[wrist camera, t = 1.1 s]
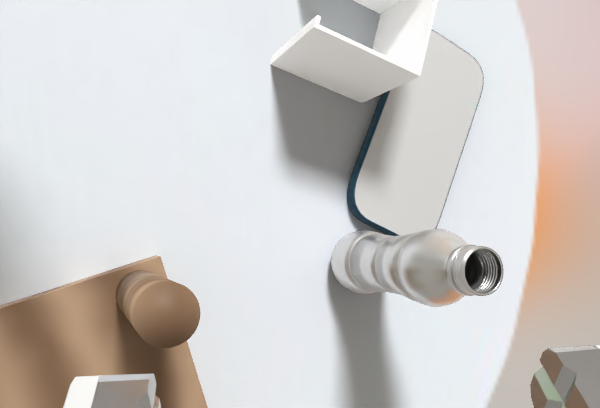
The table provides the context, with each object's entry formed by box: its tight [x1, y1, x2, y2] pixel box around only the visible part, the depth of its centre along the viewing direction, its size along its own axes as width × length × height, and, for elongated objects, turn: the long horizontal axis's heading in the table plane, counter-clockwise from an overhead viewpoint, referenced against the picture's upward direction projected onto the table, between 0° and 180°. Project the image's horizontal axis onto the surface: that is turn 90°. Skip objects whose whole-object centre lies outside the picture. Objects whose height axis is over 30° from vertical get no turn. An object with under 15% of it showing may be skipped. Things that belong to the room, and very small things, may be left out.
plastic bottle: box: [331, 229, 503, 307], centre depth 49 cm, size 6×7×20 cm
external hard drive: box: [347, 30, 483, 236], centre depth 62 cm, size 24×12×2 cm, turn 158°
